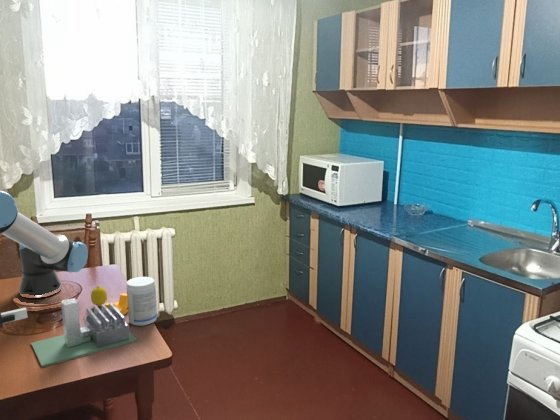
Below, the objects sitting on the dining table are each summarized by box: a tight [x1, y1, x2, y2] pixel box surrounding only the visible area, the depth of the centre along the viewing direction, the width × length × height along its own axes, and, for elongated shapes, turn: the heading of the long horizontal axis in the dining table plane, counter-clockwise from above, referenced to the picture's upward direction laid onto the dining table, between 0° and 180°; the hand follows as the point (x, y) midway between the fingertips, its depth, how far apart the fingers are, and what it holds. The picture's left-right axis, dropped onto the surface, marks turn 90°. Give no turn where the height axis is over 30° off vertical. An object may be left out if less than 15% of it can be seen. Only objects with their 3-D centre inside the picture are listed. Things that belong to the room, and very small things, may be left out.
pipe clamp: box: [104, 292, 128, 316], centre depth 173 cm, size 12×4×6 cm, turn 168°
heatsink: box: [80, 301, 130, 348], centre depth 157 cm, size 14×13×8 cm
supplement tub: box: [126, 276, 158, 326], centre depth 170 cm, size 10×10×15 cm
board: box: [30, 330, 138, 368], centre depth 155 cm, size 16×28×1 cm, turn 126°
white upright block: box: [60, 297, 91, 347], centre depth 152 cm, size 4×7×14 cm, turn 126°
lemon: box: [90, 285, 108, 308], centre depth 181 cm, size 6×6×8 cm
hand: (26, 312), depth 144 cm, fingers closed
